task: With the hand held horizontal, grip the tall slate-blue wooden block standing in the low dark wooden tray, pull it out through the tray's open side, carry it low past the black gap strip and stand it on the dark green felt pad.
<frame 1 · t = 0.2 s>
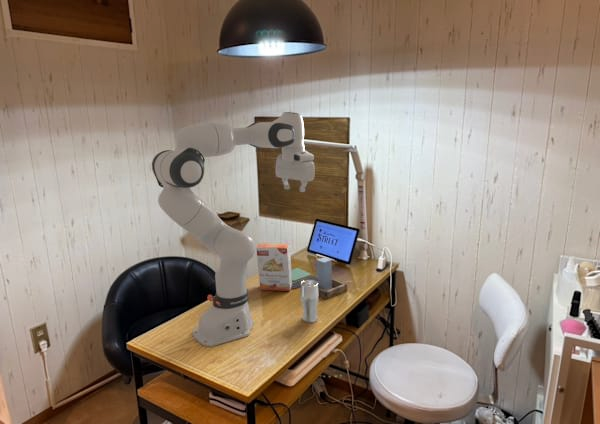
hand: (294, 190, 163), 48 cm above the table, tool pointing down, fingers open, 8 cm apart
green felt pad: (295, 275, 201), on the table
cracker box: (276, 288, 187), on the table, touching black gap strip
slate block: (324, 288, 185), resting in dark wooden tray
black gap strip: (303, 282, 192), on the table
beer glass: (310, 319, 160), on the table
dark wooden tray: (325, 289, 185), on the table
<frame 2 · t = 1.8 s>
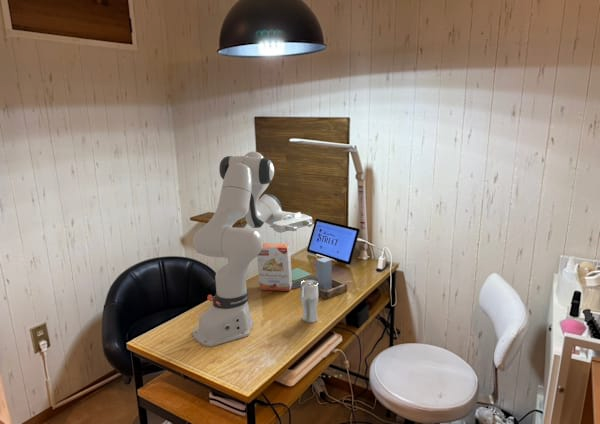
hand: (303, 227, 190), 26 cm above the table, tool horizontal, fingers open, 8 cm apart
nothing on the table moved.
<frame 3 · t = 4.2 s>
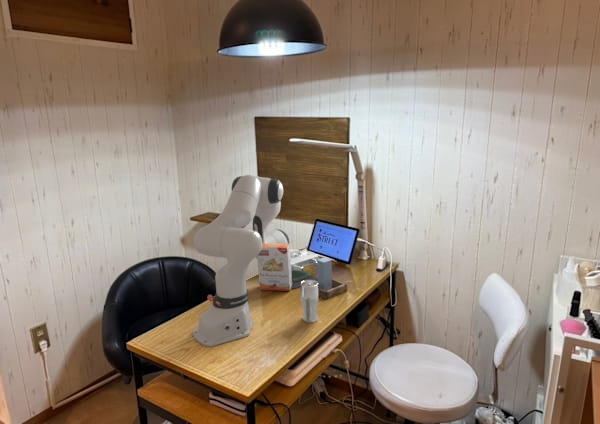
hand: (309, 266, 191), 8 cm above the table, tool horizontal, fingers open, 8 cm apart
nothing on the table moved.
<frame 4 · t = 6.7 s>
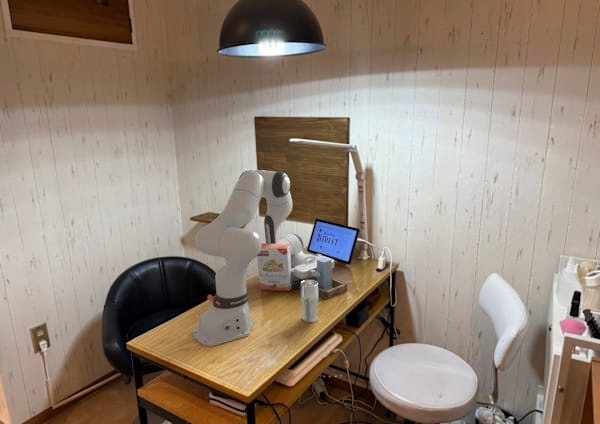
hand: (325, 272, 183), 8 cm above the table, tool horizontal, fingers closed on slate block, 5 cm apart
cracker box: (276, 288, 187), on the table, touching arm, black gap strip
slate block: (324, 288, 185), resting in dark wooden tray, touching gripper
everything else where it was.
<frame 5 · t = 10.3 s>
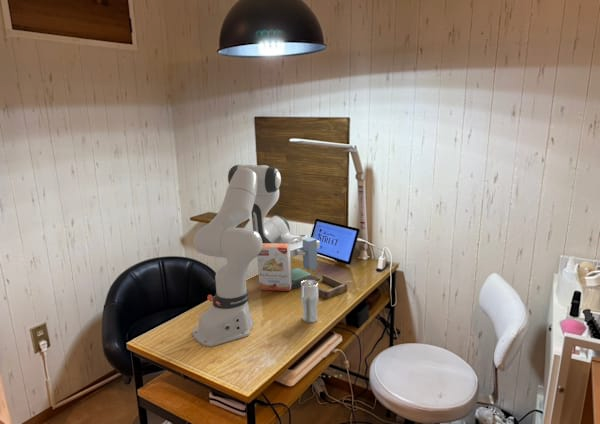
hand: (311, 252, 189), 15 cm above the table, tool horizontal, fingers closed on slate block, 5 cm apart
cracker box: (276, 288, 187), on the table, touching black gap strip
slate block: (310, 267, 191), point 7 cm above the table, touching gripper
everything else where it was.
when the fingers open (10 cm above the table, at t = 14.1 s): slate block stays where it is, resting on green felt pad.
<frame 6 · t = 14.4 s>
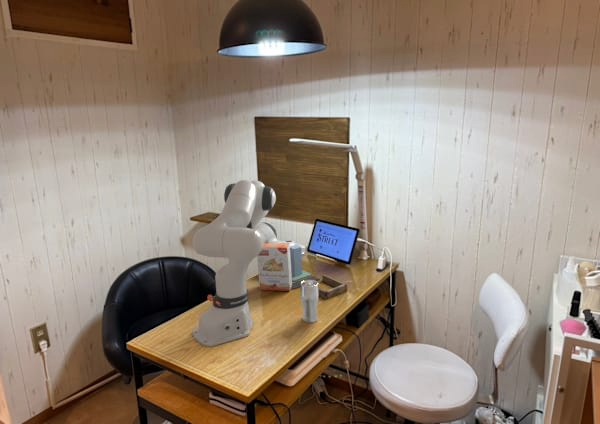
hand: (296, 257, 198), 10 cm above the table, tool horizontal, fingers open, 7 cm apart
slate block: (295, 274, 201), point 1 cm above the table, touching green felt pad
everything else where it was.
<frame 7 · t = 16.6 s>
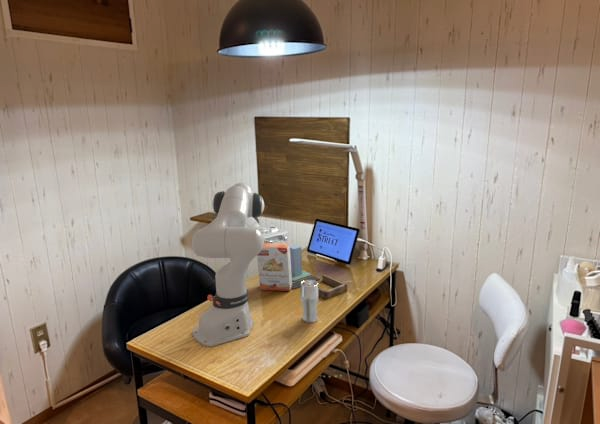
hand: (278, 241, 204), 16 cm above the table, tool horizontal, fingers open, 8 cm apart
nothing on the table moved.
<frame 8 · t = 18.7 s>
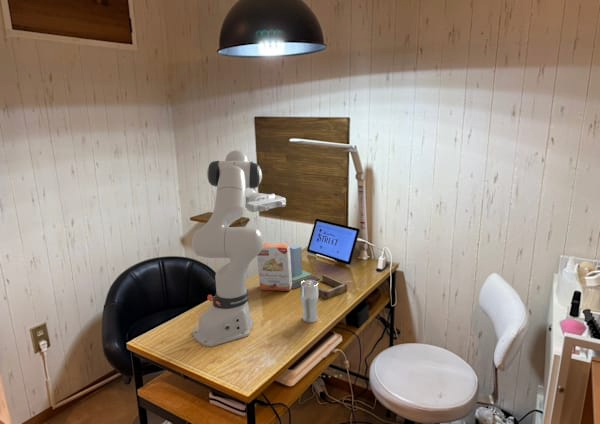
hand: (275, 207, 195), 34 cm above the table, tool horizontal, fingers open, 8 cm apart
nothing on the table moved.
at the end: slate block inside the target area (0.1 cm from its centre), point 0.6 cm above the table; slate block tilted 0°; slate block touching green felt pad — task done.
